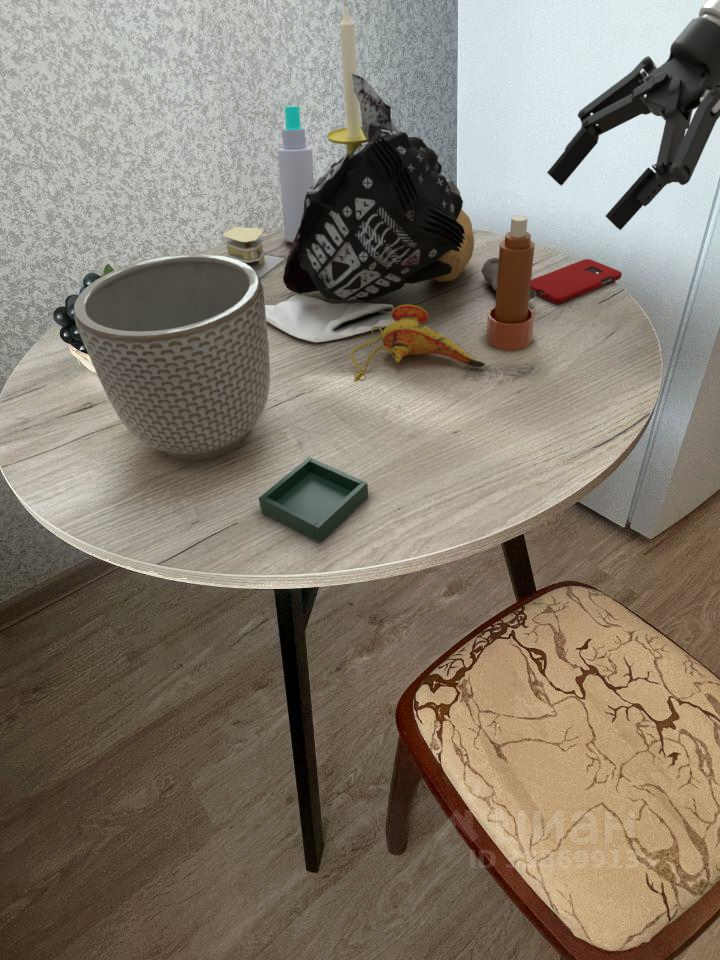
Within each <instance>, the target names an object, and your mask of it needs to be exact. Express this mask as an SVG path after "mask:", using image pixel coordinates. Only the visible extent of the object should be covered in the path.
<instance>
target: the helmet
mask: <svg viewBox="0 0 720 960" xmlns="http://www.w3.org/2000/svg"><path fill="white" fill-rule="evenodd" d="M352 79H353V83H354V92H355V94H356V96H357V99H358V101H359V111H360V118H361V126H362V131H363V134H364V136H365V138H366V139H367V141H368V142H366V143H363V144H362V146H360V147H359V148H358V149H356V150H355V151H353V153H350V155H349V154H348V153H347V152H346V153H345V154H344V155H342V156H341V157H340V158H339V160H338V161H337V162H336V161H335V162H333V163H332V164H331V166H330V168H328V169H327V170H326V171H325V172H324V173H323V174H322V175H321V176H320V177H318V179H317V180H315V181H314V184H313V185H312V186H311V187H310V188H309V189H308V190H307V191H306V193H307V194H306V196H305V201H304V213H303V215H302V219H301V224H300V227H299V228H298V231H297V234H296V237H295V239H294V241H293V243H292V247H291V249H290V251H289V253H288V255H287V257H286V262H285V266H284V271H283V277H282V281H283V283H284V286H285V287H286V289H288V290H289V291H290V292H293V293H295V294H309V293H313V292H319V293H320V294H321V295H322V296H323V297H324V298H325V299H326V300H330V301H335V302H336V301H339V302H347V301H348V302H349V301H353V300H359V301H363V302H369V301H372V300H376V299H378V298H382V297H384V296H386V295H388V294H390V293H393V292H396V291H398V290H401V289H402V288H403V287H405V285H406V284H409V285H412V284H413V285H414V284H418V283H422V282H425V281H429V280H433V279H432V278H436V277H440V276H443V275H446V274H450V273H451V270H452V266H451V265H450V264H448V263H445V262H442V261H439V260H438V259H439V258H441V257H442V256H443V255H444V254H445V253H447V252H449V251H450V250H454V251H458V252H460V250H459V248H458V247H461V244H460V243H462V244H464V243H463V239H465V238H464V236H463V234H465V232H464V228H463V226H462V225H461V224H459V223H458V222H457V221H456V220H457V218H458V216H459V214H460V212H461V210H463V205H464V201H463V198H462V196H461V191H460V190H459V188H458V186H457V185H456V183H455V182H454V181H453V180H451V179H447V178H446V176H445V175H443V174H442V169H443V166H442V164H441V163H440V162H439V161H438V160H439V155H438V154H436V152H435V151H434V149H432V148H431V147H428V146H427V145H426V143H425V141H424V140H423V139H422V138H420V137H417V136H409V135H408V134H407V132H406V131H405V132H404V131H399V129H398V128H397V127H396V125H395V124H394V122H393V119H392V116H391V115H392V114H391V110H392V108H391V106H390V105H389V104H387V103H386V102H385V101H384V100H383V98H382V97H381V96H380V95H379V94H378V92H377V91H376V90H375V89H374V88H373V87H372V86H371V85H370V84H369V83H368V82H367V81H366V80H365V78H364V77H362V76H360V75H358V74H357V75H355V74H352ZM461 248H462V247H461Z"/></svg>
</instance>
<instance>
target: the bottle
mask: <svg viewBox="0 0 720 960" xmlns="http://www.w3.org/2000/svg"><path fill="white" fill-rule="evenodd" d="M528 220H529V217H528V216H526V215H522V214H517V215H513V216H511V219H510V229H509V230H510V231H508V232H506V233H505V234H504V239H503V240H502V241H500V243H499V249H498V250H499V251H498V252H499V253H498V258H499V263H498V277H497V291H495V293H496V294H495V304H494V305H495V306H494V307H495V319H494V320H496V321H498V322H502V323H506V324H517V323H523V322H525V321H527V314H528V308H529V302H530V300H529V295H530V285H531V280H532V277H533V264H534V255H535V247H536V244H535V242H534V241H532V240H531V238H532V236H531V233H530V232H528V230H527V229H528ZM531 276H532V277H531Z"/></svg>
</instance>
